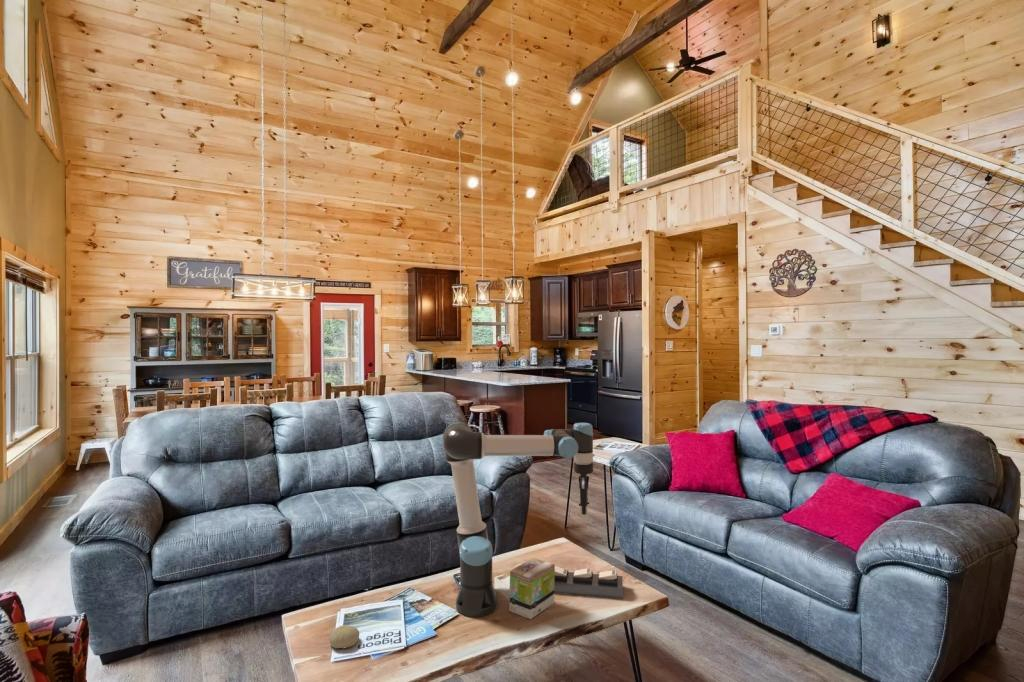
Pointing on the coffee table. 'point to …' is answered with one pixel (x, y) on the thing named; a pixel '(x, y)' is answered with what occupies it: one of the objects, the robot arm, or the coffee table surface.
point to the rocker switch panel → (589, 586)
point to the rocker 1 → (560, 571)
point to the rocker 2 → (583, 573)
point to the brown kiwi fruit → (344, 636)
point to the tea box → (532, 587)
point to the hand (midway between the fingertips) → (584, 521)
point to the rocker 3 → (608, 575)
